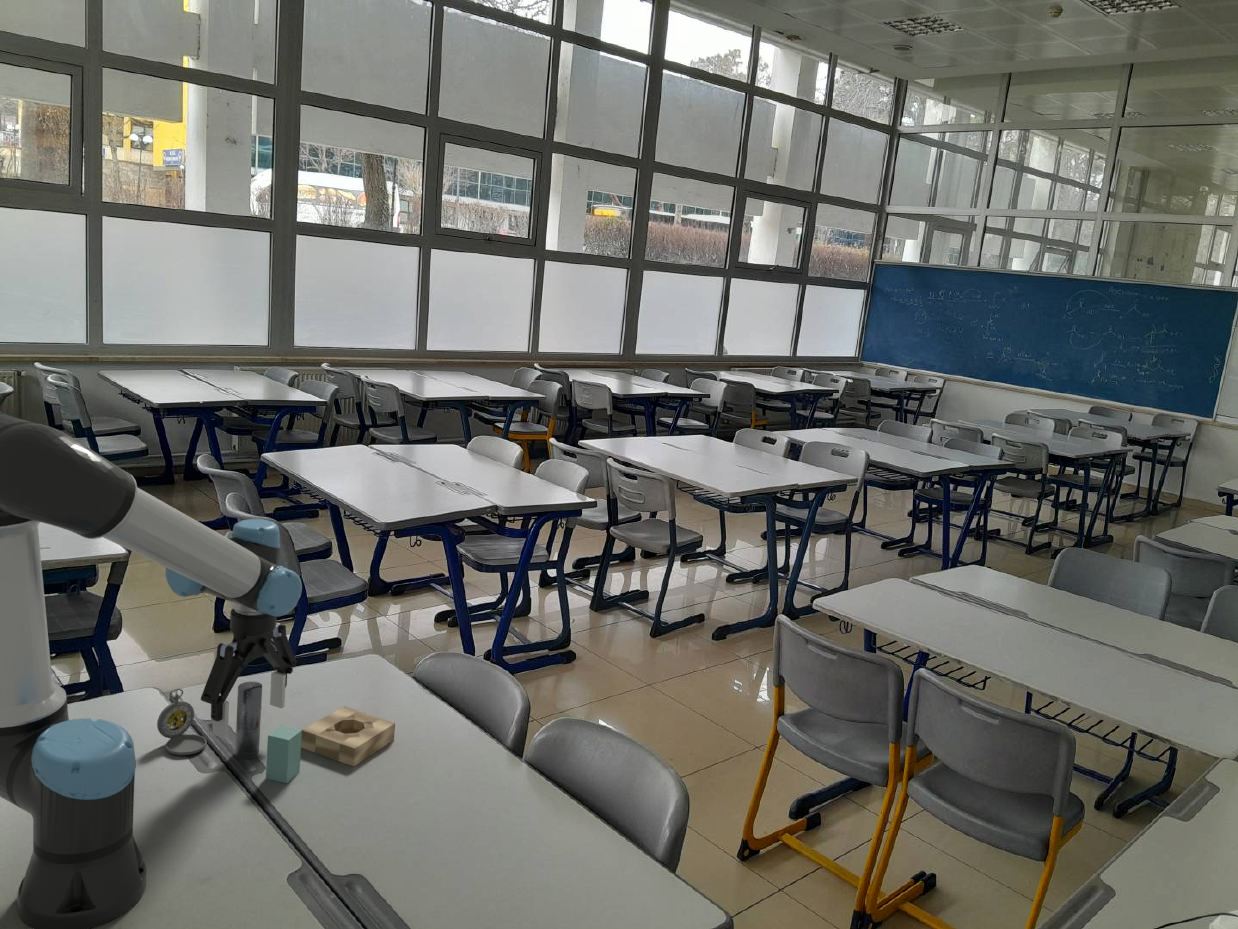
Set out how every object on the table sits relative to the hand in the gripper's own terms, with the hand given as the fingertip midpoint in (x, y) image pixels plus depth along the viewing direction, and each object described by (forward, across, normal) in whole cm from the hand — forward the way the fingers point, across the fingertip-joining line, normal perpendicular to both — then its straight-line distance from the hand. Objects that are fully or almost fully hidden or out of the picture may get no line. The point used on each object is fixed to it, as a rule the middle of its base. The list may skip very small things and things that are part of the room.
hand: (249, 720), depth 165 cm
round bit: (+6, 0, 0) cm, 6 cm away
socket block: (+7, +13, -12) cm, 19 cm away
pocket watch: (+7, -4, +11) cm, 14 cm away
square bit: (+6, -2, -10) cm, 12 cm away
